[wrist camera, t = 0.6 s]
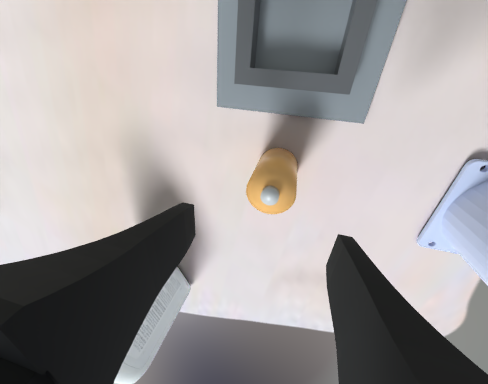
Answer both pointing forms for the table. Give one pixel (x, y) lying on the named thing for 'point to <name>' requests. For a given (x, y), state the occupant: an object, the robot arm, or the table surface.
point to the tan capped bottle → (273, 182)
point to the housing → (304, 55)
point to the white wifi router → (154, 329)
